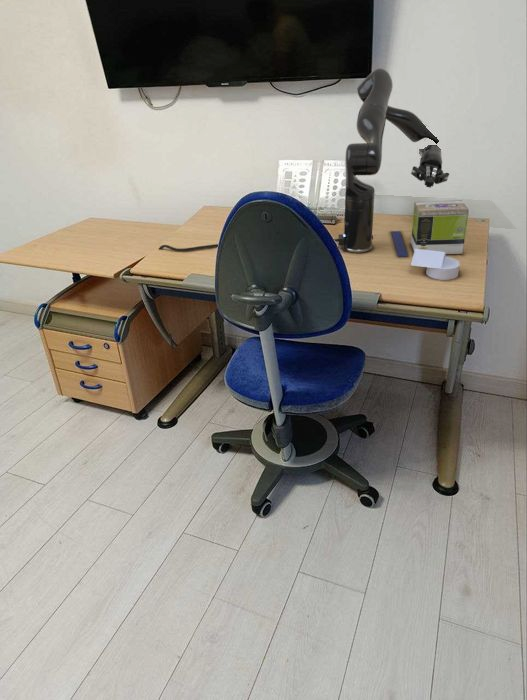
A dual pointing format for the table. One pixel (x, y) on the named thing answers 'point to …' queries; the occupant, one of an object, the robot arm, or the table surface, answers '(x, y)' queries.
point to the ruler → (399, 244)
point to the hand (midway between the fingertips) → (429, 184)
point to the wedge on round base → (436, 264)
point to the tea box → (439, 226)
